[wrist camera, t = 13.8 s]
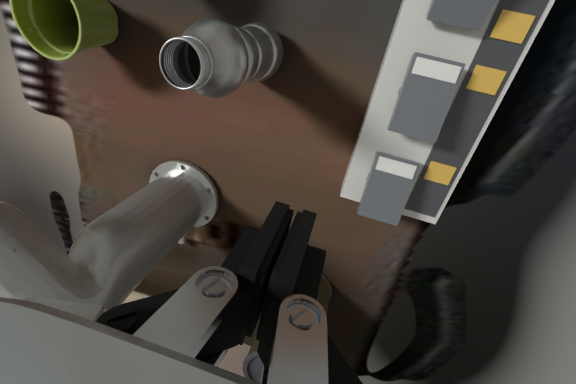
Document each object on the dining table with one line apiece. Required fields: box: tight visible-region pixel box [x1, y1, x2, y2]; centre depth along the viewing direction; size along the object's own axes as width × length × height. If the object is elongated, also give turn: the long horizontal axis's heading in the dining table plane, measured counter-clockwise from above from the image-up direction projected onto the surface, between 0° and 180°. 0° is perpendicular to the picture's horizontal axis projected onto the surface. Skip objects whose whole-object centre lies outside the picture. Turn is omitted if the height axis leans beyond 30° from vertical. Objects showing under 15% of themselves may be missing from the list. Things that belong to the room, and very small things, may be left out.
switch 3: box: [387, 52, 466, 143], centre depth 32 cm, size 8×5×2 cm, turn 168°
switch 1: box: [357, 151, 420, 226], centre depth 38 cm, size 8×5×2 cm, turn 168°
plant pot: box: [9, 0, 119, 60], centre depth 40 cm, size 9×9×9 cm
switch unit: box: [340, 0, 555, 224], centre depth 36 cm, size 30×13×5 cm, turn 168°
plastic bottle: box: [159, 19, 283, 98], centre depth 31 cm, size 6×7×20 cm
